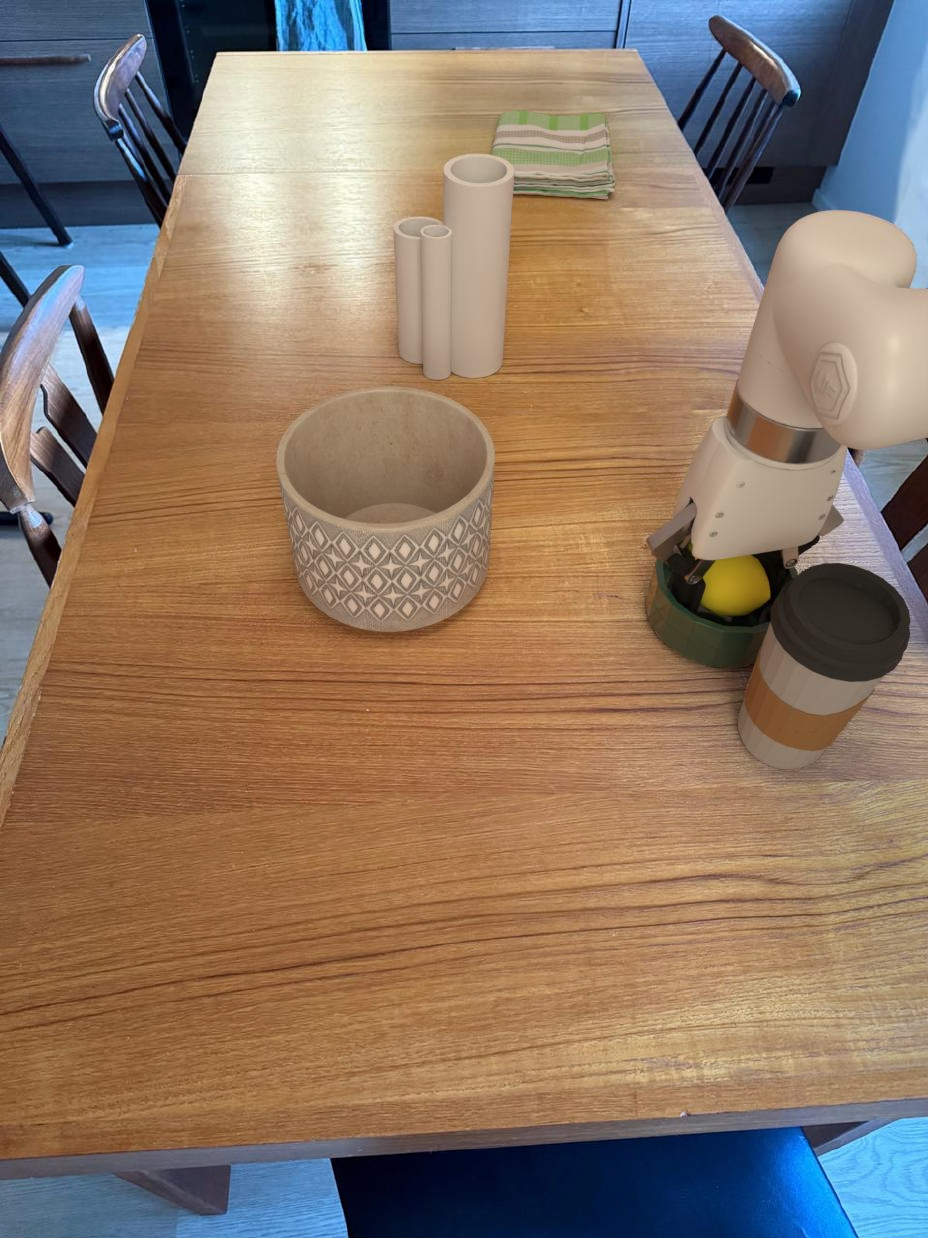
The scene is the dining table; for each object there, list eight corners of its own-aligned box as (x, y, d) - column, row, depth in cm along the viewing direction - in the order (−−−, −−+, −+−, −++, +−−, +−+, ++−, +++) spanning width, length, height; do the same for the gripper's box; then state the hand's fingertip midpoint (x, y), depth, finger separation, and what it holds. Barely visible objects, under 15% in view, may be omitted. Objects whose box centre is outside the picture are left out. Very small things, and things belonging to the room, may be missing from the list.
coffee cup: (768, 671, 71) (832, 537, 59) (858, 741, 67) (946, 613, 55) (699, 728, 67) (752, 598, 55) (790, 806, 63) (868, 683, 52)
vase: (502, 342, 99) (513, 153, 83) (503, 381, 94) (515, 190, 78) (400, 339, 98) (392, 150, 83) (395, 378, 94) (386, 186, 78)
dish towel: (485, 195, 120) (486, 168, 117) (494, 123, 135) (495, 98, 132) (614, 202, 119) (618, 175, 117) (609, 129, 134) (612, 104, 131)
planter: (519, 537, 79) (530, 422, 70) (433, 671, 70) (432, 559, 60) (359, 479, 84) (348, 364, 74) (258, 598, 74) (230, 483, 65)
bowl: (809, 620, 74) (829, 580, 70) (727, 696, 69) (744, 657, 65) (700, 548, 79) (713, 506, 75) (617, 613, 74) (627, 572, 70)
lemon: (769, 597, 73) (789, 551, 69) (750, 643, 70) (770, 598, 66) (688, 566, 75) (702, 520, 71) (665, 609, 72) (679, 563, 68)
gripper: (878, 366, 62) (798, 548, 76) (642, 397, 59) (604, 580, 73) (938, 434, 57) (841, 615, 71) (685, 471, 54) (636, 652, 68)
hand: (722, 596), depth 72 cm, fingers closed on lemon, 5 cm apart
